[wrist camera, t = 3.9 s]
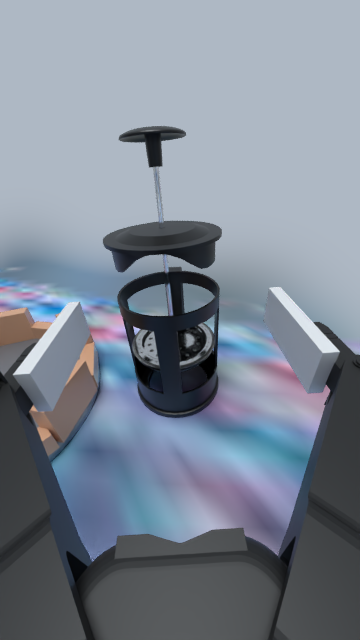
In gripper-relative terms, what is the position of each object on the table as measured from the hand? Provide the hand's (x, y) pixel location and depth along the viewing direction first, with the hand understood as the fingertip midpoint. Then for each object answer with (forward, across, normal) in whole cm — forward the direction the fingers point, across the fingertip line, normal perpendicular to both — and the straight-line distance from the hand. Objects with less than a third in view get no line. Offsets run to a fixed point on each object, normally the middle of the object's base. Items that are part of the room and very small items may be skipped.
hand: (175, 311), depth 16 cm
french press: (+5, 0, -13) cm, 14 cm away
